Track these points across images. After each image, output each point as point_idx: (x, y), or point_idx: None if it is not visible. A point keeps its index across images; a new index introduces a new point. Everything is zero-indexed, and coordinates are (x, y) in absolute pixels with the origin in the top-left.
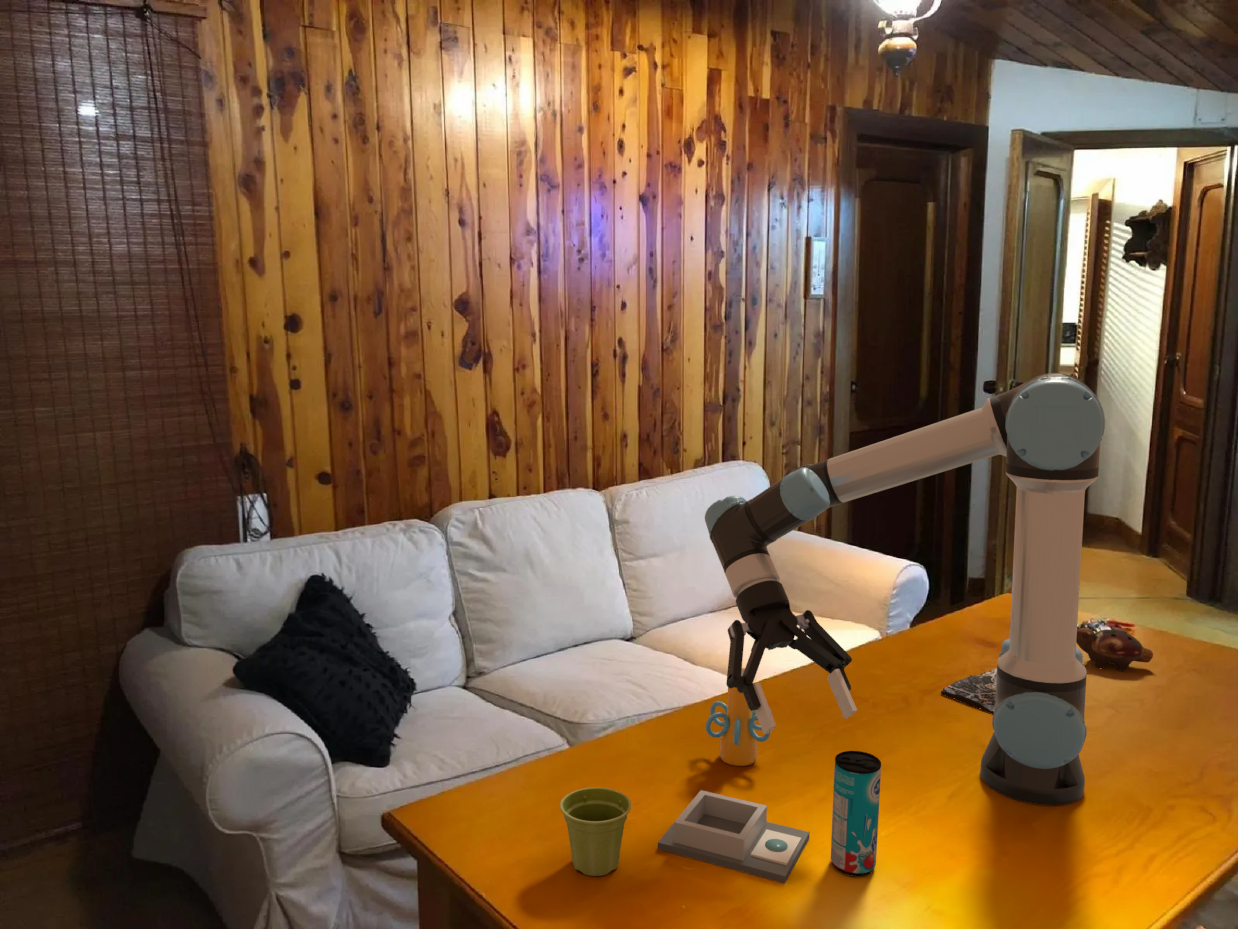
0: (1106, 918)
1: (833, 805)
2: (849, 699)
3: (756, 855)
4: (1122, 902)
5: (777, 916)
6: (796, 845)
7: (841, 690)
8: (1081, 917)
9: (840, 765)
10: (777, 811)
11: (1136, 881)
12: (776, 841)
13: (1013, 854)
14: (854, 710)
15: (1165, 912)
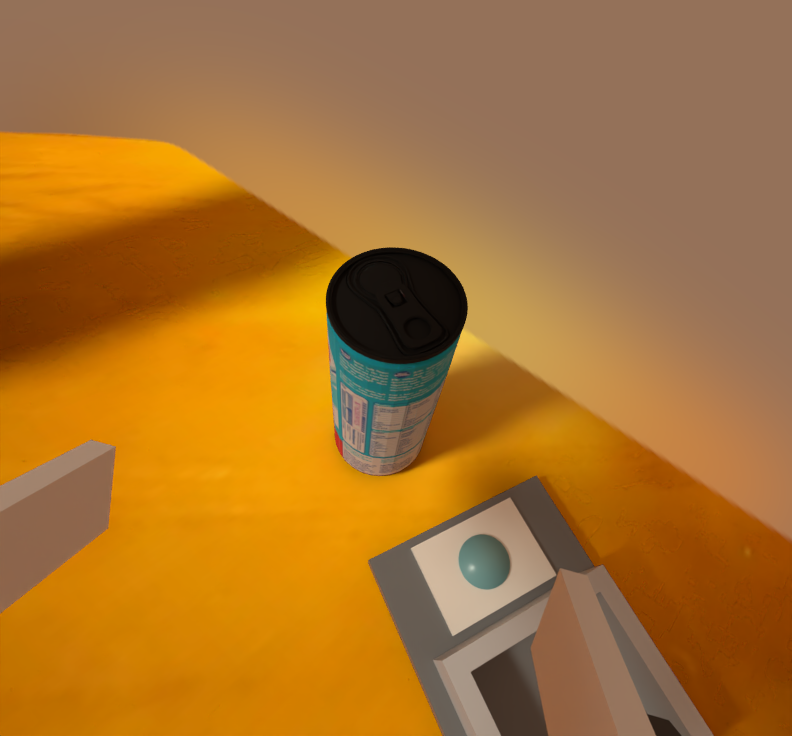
0: (214, 171)
1: (433, 406)
2: (60, 470)
3: (548, 562)
4: (159, 170)
5: (601, 426)
6: (444, 532)
7: (5, 532)
8: (235, 186)
9: (465, 314)
10: (322, 729)
11: (87, 172)
12: (475, 570)
13: (124, 291)
14: (103, 446)
15: (147, 139)
